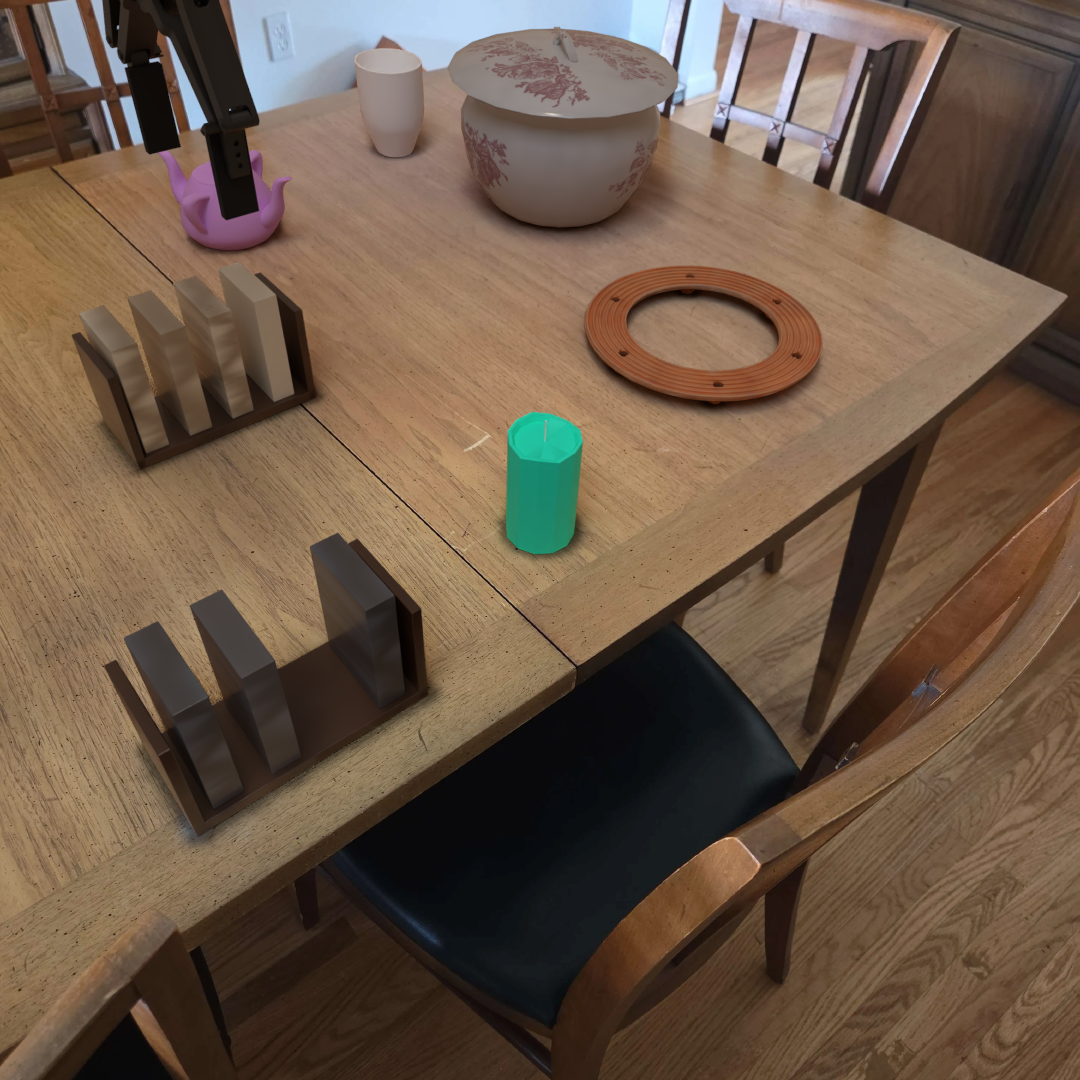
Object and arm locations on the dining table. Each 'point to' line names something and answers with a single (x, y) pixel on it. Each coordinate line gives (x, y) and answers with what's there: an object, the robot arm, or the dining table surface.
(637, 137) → the chamber pot
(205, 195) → the teapot
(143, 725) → the grey rack
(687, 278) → the ring
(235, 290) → the cream book
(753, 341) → the dining table surface
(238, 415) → the cream rack
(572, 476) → the candle
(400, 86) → the mug
